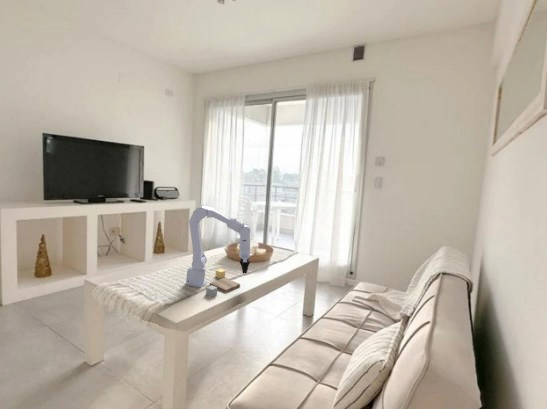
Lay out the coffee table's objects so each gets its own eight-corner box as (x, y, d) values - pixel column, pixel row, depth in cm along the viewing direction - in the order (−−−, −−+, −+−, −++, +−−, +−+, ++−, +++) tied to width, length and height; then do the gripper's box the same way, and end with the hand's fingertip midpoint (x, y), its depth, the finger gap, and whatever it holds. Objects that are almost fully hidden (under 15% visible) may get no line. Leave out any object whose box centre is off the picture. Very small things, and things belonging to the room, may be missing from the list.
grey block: (211, 297, 156) (212, 289, 155) (205, 294, 158) (206, 287, 157) (216, 294, 159) (217, 287, 158) (211, 292, 161) (212, 285, 160)
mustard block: (220, 278, 181) (220, 272, 180) (215, 276, 183) (216, 270, 182) (224, 276, 184) (225, 270, 183) (220, 274, 186) (220, 268, 186)
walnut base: (225, 292, 162) (225, 290, 162) (209, 285, 169) (209, 283, 169) (239, 286, 172) (240, 284, 172) (224, 280, 179) (224, 277, 179)
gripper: (252, 250, 160) (252, 275, 162) (251, 243, 175) (251, 266, 176) (239, 250, 160) (239, 275, 161) (239, 243, 174) (239, 266, 176)
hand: (244, 270), depth 169 cm, fingers open, 7 cm apart
